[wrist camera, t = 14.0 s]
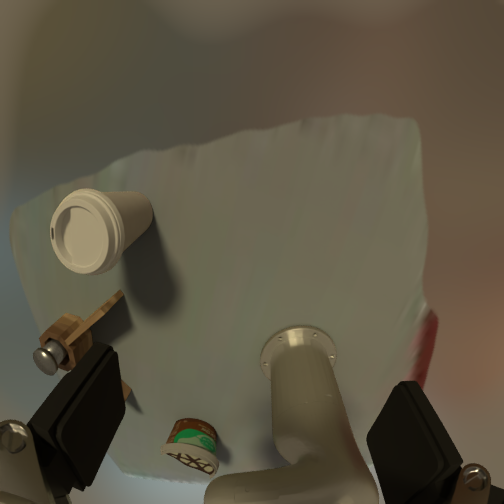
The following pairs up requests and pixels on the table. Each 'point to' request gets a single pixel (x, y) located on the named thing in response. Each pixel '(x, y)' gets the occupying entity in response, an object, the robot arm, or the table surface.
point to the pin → (50, 356)
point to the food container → (193, 445)
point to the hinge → (78, 336)
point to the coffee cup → (98, 228)
